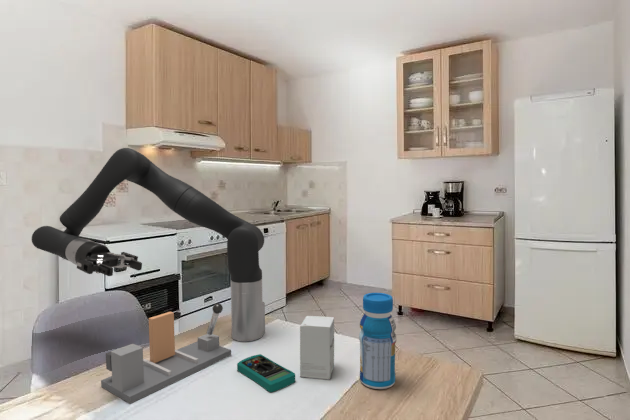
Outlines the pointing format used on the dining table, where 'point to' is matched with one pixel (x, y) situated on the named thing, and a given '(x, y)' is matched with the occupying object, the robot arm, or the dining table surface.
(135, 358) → the console
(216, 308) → the toggle lever
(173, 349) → the tan upright board
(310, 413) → the dining table surface
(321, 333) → the supplement box
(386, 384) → the beverage bottle
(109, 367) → the push button
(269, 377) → the digital multimeter
